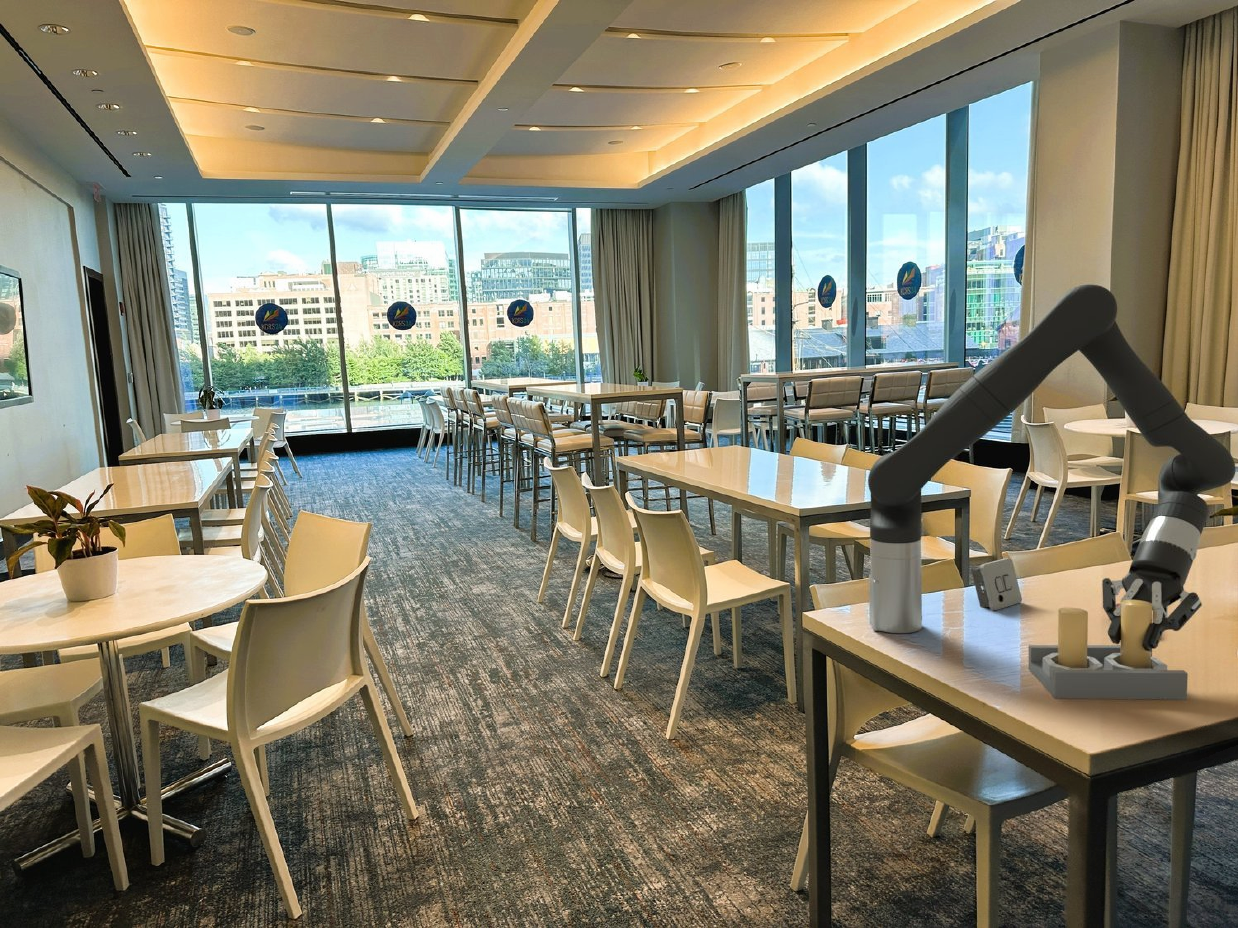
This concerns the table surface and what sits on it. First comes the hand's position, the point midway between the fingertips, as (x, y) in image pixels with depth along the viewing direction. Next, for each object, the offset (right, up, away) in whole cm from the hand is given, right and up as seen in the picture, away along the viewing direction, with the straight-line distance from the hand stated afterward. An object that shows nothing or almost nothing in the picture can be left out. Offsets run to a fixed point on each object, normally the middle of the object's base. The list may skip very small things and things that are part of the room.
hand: (1130, 644), depth 127 cm
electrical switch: (0, -2, +45) cm, 44 cm away
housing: (-3, -7, +3) cm, 8 cm away
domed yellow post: (+2, -4, +2) cm, 5 cm away
